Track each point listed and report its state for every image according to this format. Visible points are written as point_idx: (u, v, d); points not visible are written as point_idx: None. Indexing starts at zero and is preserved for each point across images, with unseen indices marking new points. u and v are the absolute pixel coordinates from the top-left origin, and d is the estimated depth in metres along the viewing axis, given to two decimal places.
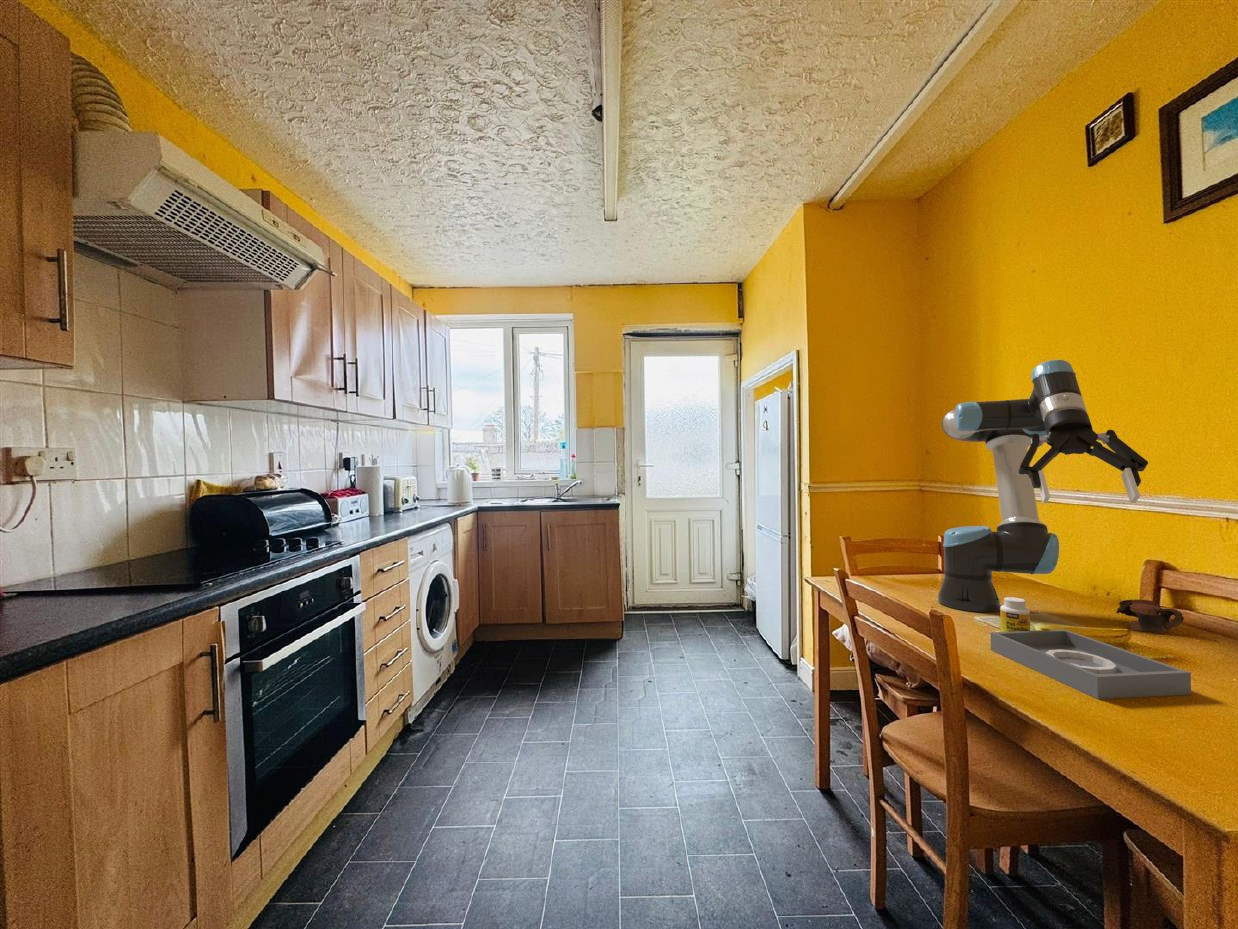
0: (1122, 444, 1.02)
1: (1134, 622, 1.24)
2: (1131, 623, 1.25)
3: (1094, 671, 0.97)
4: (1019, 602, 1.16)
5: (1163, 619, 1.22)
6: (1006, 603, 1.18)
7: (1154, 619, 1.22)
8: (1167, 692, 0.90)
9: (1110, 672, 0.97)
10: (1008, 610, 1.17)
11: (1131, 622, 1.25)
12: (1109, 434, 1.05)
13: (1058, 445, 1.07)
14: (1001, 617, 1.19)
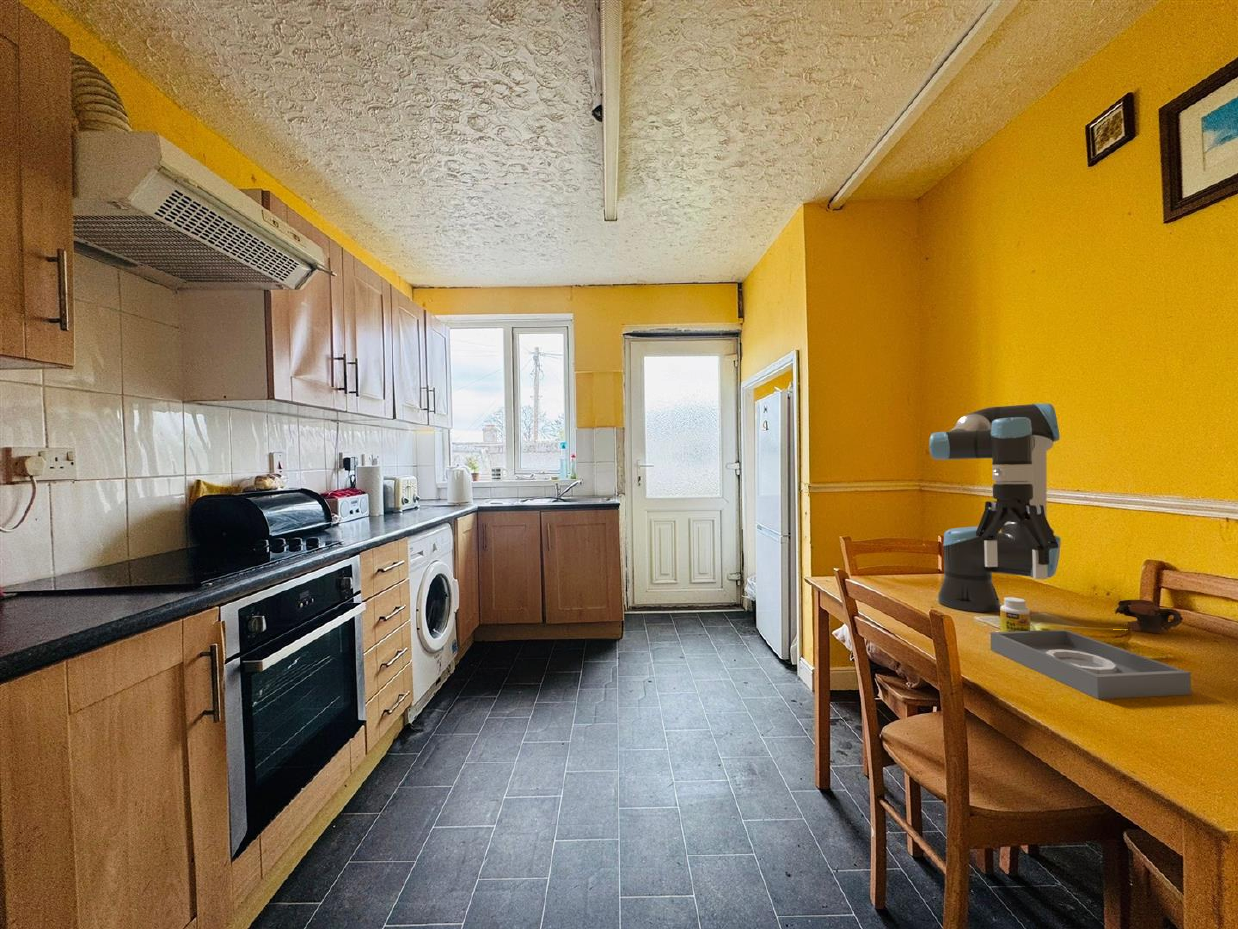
0: (1035, 523, 1.11)
1: (1133, 622, 1.24)
2: (1130, 623, 1.24)
3: (1094, 671, 0.97)
4: (1019, 602, 1.16)
5: (1161, 619, 1.22)
6: (1006, 603, 1.18)
7: (1153, 619, 1.22)
8: (1167, 692, 0.90)
9: (1110, 672, 0.97)
10: (1008, 610, 1.17)
11: (1130, 622, 1.25)
12: (1030, 510, 1.12)
13: (996, 518, 1.21)
14: (1001, 617, 1.19)
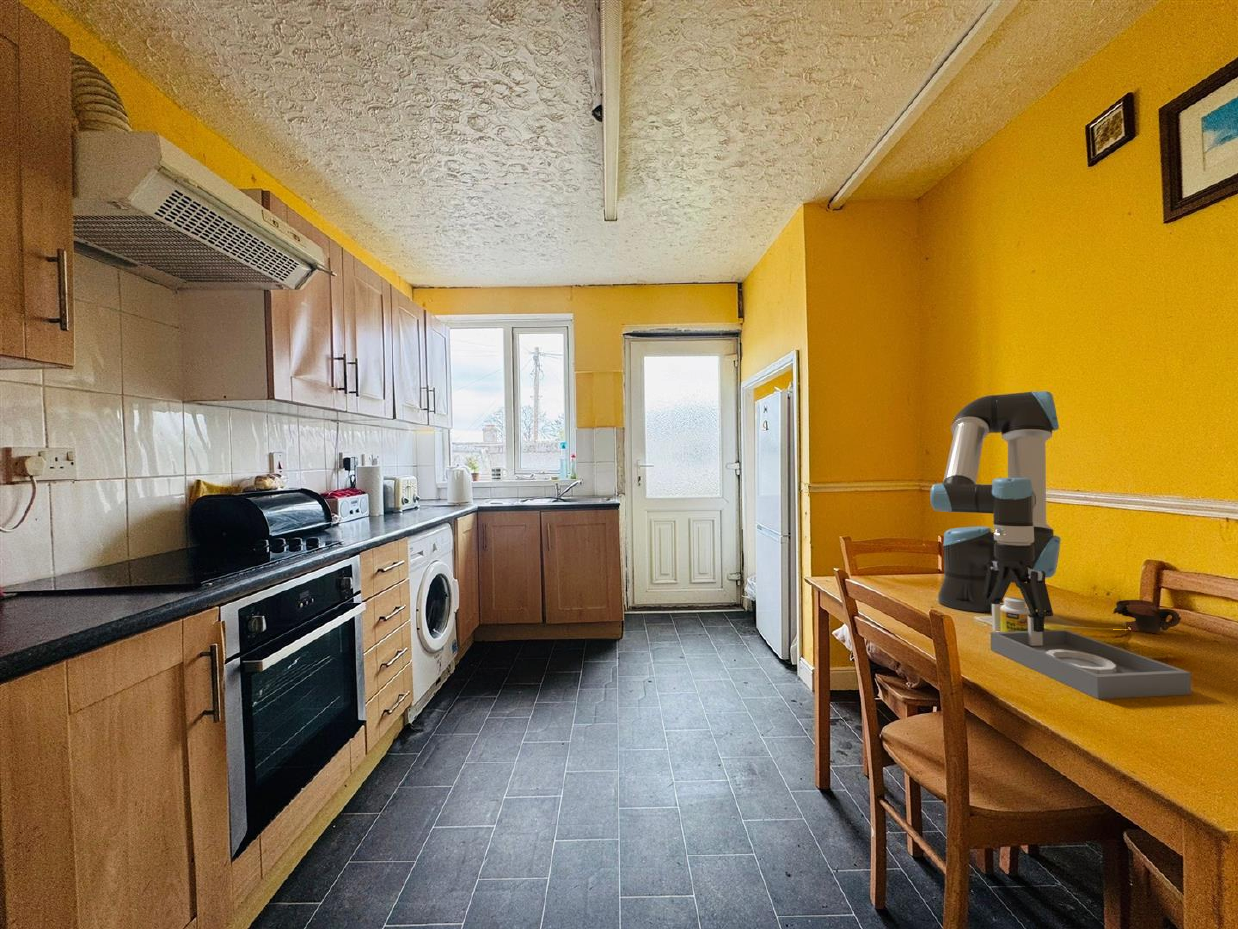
0: (1034, 590, 1.11)
1: (1131, 622, 1.24)
2: (1128, 624, 1.24)
3: (1094, 671, 0.97)
4: (1019, 602, 1.16)
5: (1160, 619, 1.22)
6: (1006, 603, 1.18)
7: (1151, 619, 1.22)
8: (1167, 692, 0.90)
9: (1110, 672, 0.97)
10: (1008, 610, 1.17)
11: (1128, 622, 1.25)
12: (1031, 576, 1.12)
13: (999, 578, 1.20)
14: (1001, 617, 1.19)
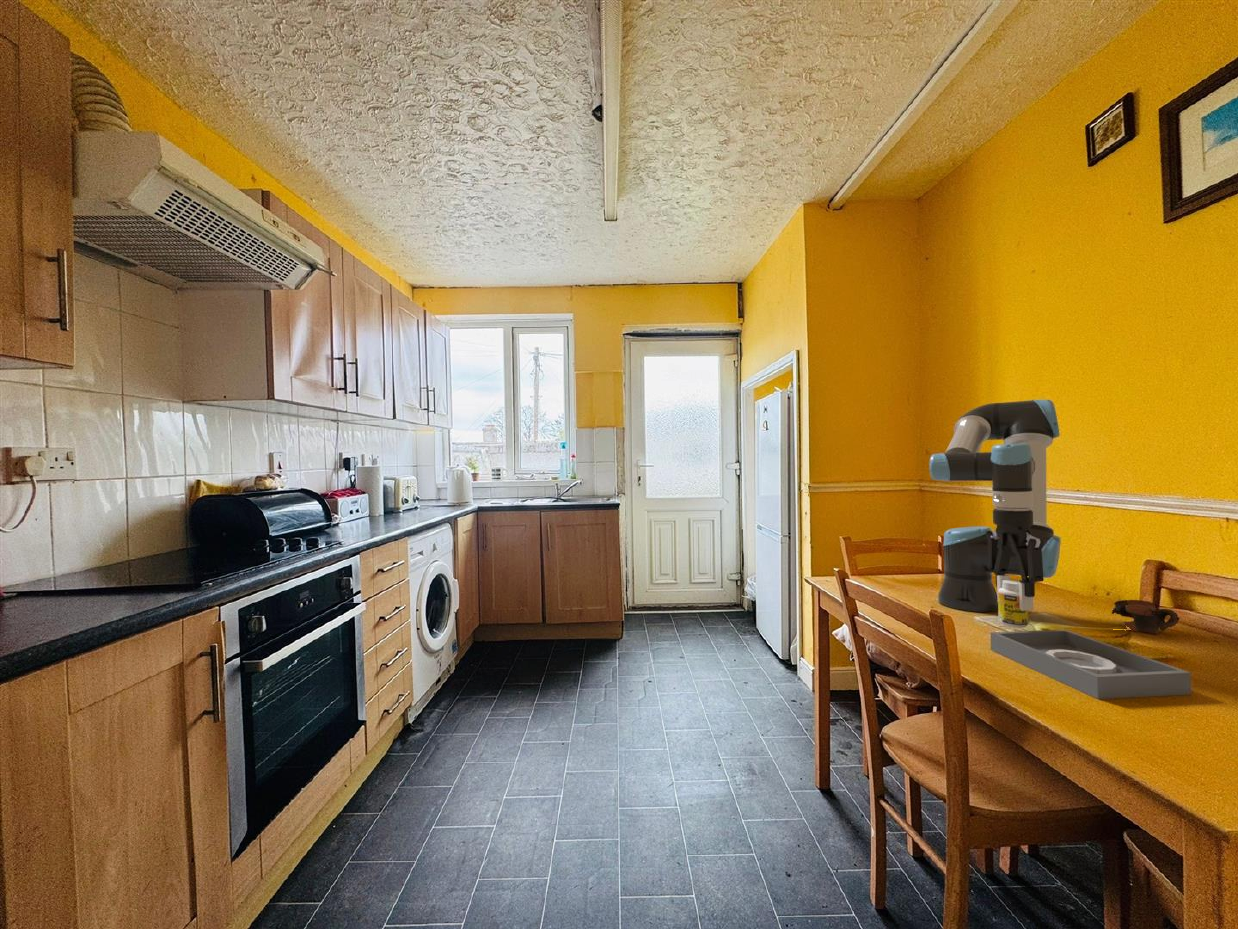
0: (1029, 556, 1.12)
1: (1130, 623, 1.24)
2: (1127, 624, 1.24)
3: (1094, 671, 0.97)
4: (1017, 584, 1.16)
5: (1158, 619, 1.22)
6: (1004, 586, 1.18)
7: (1150, 619, 1.22)
8: (1167, 692, 0.90)
9: (1110, 672, 0.97)
10: (1006, 592, 1.17)
11: (1127, 623, 1.24)
12: (1028, 543, 1.13)
13: (1000, 546, 1.20)
14: (999, 600, 1.19)
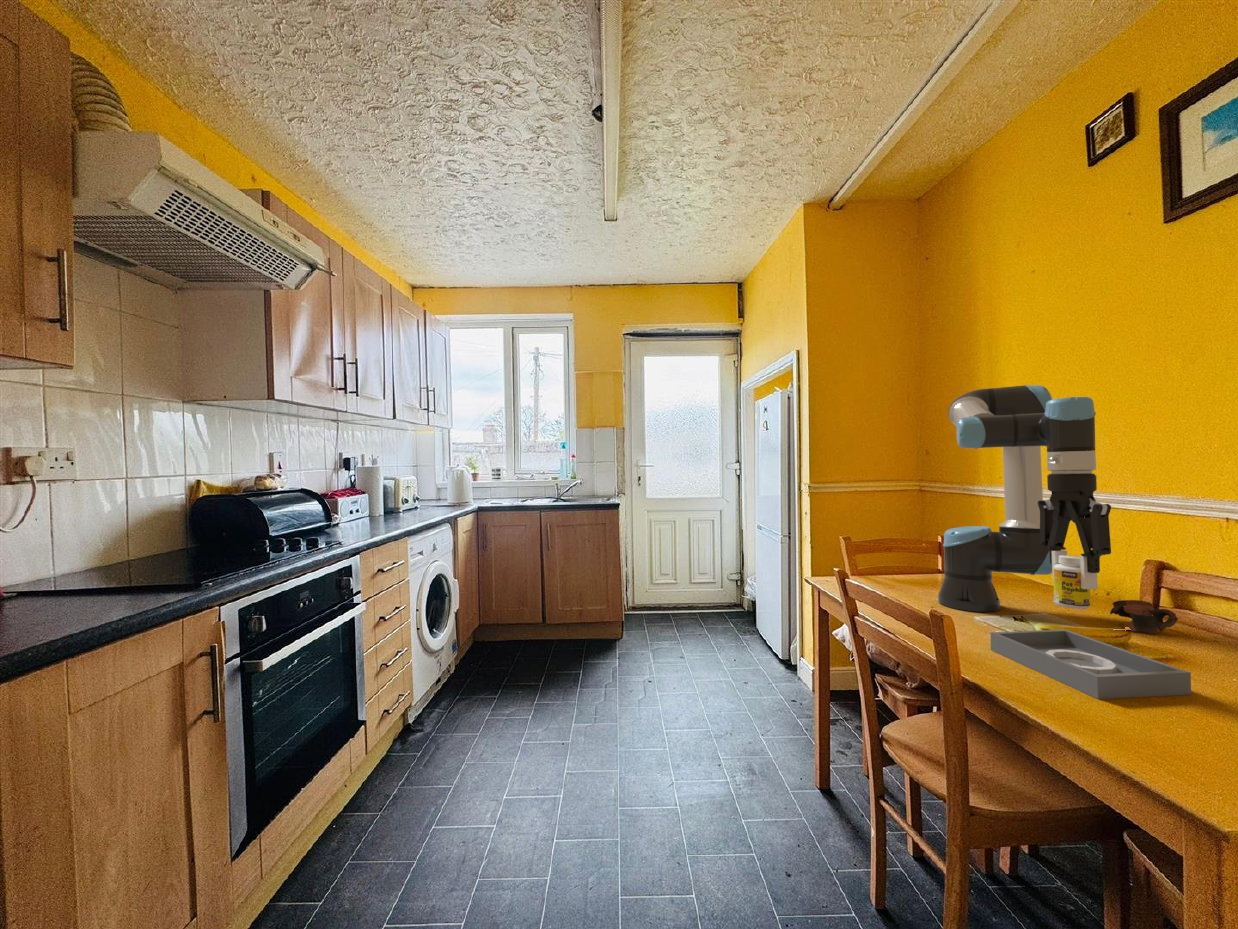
0: (1094, 525, 0.97)
1: (1128, 623, 1.24)
2: (1125, 624, 1.24)
3: (1094, 671, 0.97)
4: (1077, 559, 1.01)
5: (1156, 620, 1.22)
6: (1061, 561, 1.02)
7: (1148, 619, 1.22)
8: (1167, 692, 0.90)
9: (1110, 672, 0.97)
10: (1064, 568, 1.01)
11: (1125, 623, 1.24)
12: (1093, 509, 0.97)
13: (1056, 516, 1.04)
14: (1055, 577, 1.03)
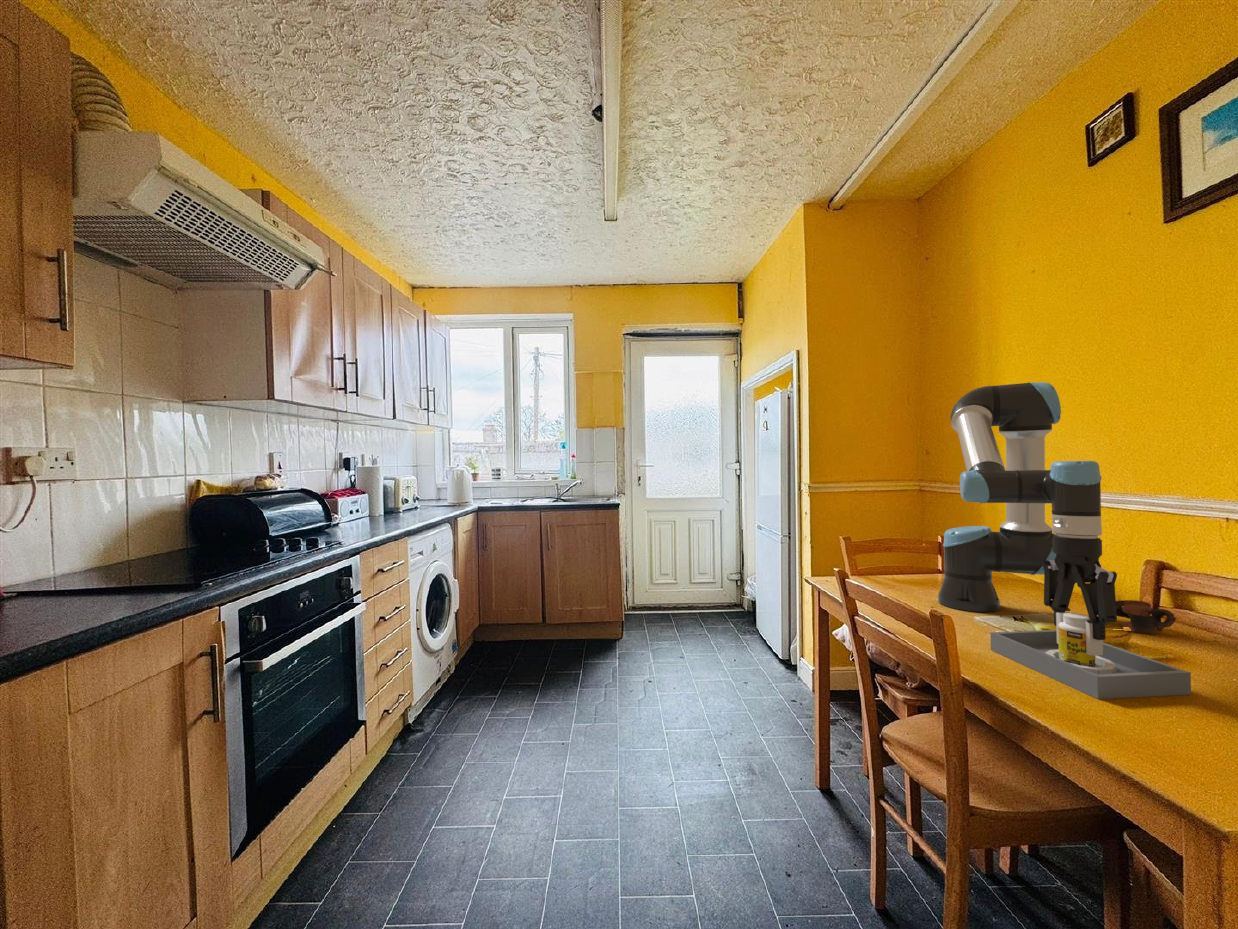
0: (1100, 592, 0.96)
1: (1126, 623, 1.24)
2: (1124, 624, 1.24)
3: (1094, 671, 0.97)
4: (1082, 619, 1.00)
5: (1155, 620, 1.21)
6: (1066, 620, 1.02)
7: (1146, 619, 1.22)
8: (1167, 692, 0.90)
9: (1110, 672, 0.97)
10: (1069, 628, 1.01)
11: (1123, 623, 1.24)
12: (1099, 576, 0.96)
13: (1060, 578, 1.04)
14: (1060, 636, 1.03)
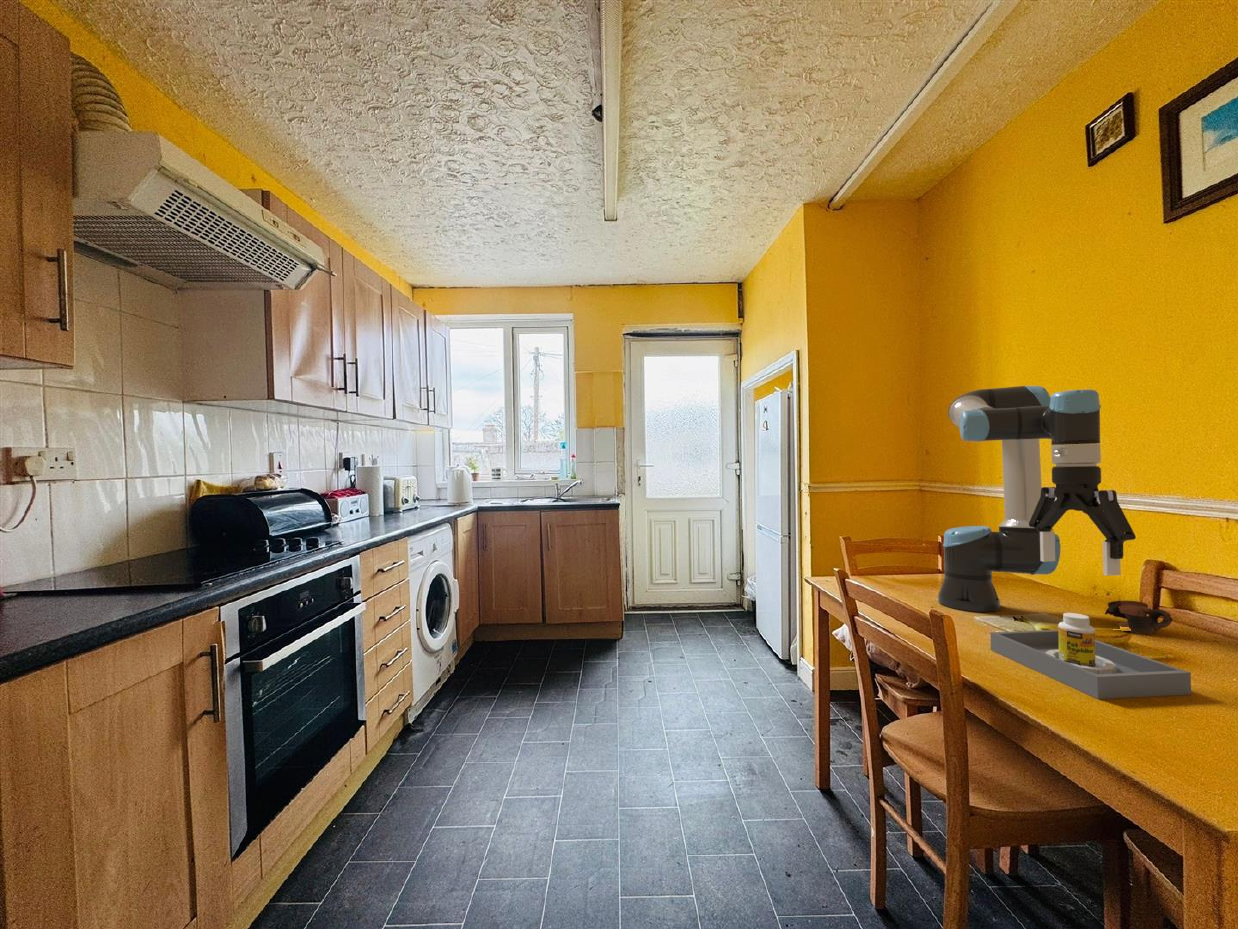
0: (1107, 511, 0.96)
1: (1123, 623, 1.23)
2: (1121, 625, 1.24)
3: (1094, 671, 0.97)
4: (1082, 619, 1.00)
5: (1152, 620, 1.21)
6: (1066, 620, 1.02)
7: (1143, 620, 1.22)
8: (1167, 692, 0.90)
9: (1110, 672, 0.97)
10: (1069, 628, 1.01)
11: (1120, 623, 1.24)
12: (1099, 496, 0.97)
13: (1055, 506, 1.06)
14: (1060, 636, 1.03)
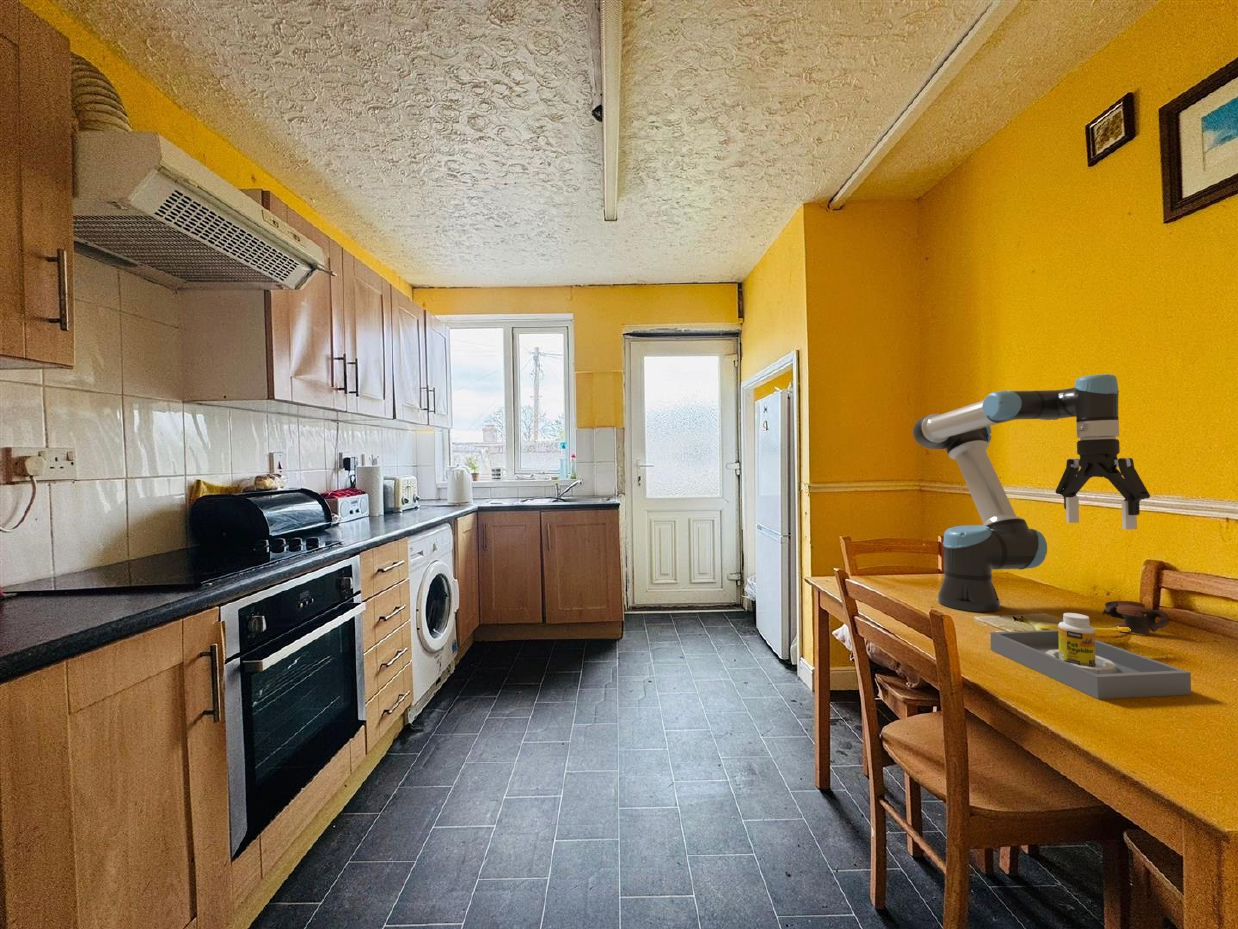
0: (1125, 475, 1.14)
1: (1121, 624, 1.23)
2: (1118, 625, 1.23)
3: (1094, 671, 0.97)
4: (1082, 619, 1.00)
5: (1149, 620, 1.21)
6: (1066, 620, 1.02)
7: (1141, 620, 1.21)
8: (1167, 692, 0.90)
9: (1110, 672, 0.97)
10: (1069, 628, 1.01)
11: (1118, 624, 1.24)
12: (1119, 463, 1.15)
13: (1079, 474, 1.24)
14: (1060, 636, 1.03)
